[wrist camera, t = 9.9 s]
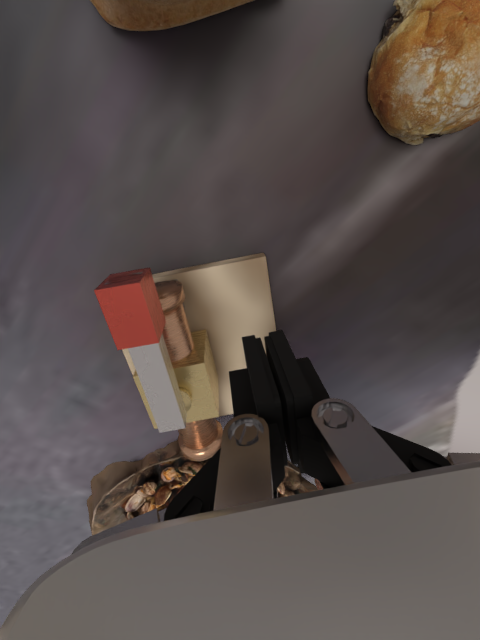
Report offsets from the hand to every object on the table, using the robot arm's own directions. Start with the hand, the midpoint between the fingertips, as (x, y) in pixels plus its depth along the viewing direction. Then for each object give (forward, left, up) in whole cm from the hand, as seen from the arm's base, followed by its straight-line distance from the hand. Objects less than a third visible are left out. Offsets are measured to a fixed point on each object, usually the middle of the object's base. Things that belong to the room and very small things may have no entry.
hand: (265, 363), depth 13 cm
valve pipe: (-7, -9, -17) cm, 21 cm away
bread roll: (+17, +12, -19) cm, 28 cm away
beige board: (-5, -9, -19) cm, 22 cm away
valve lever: (-7, -4, -10) cm, 13 cm away
